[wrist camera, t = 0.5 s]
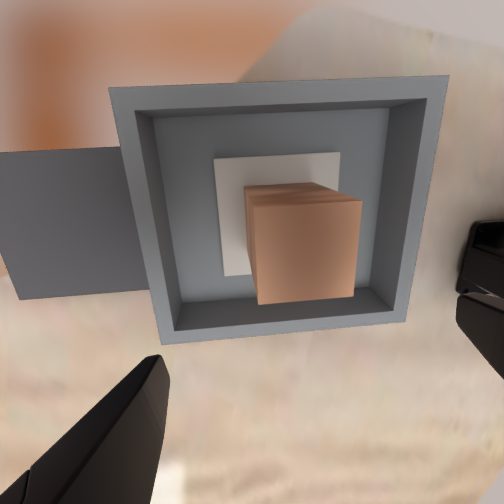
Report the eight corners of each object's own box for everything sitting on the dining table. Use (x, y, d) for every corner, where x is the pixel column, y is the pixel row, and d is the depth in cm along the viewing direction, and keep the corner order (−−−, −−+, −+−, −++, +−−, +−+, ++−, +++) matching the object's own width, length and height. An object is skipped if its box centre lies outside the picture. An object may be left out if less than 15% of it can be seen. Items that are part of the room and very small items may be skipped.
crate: (402, 90, 18) (449, 74, 14) (376, 293, 23) (405, 321, 19) (135, 101, 17) (108, 87, 13) (172, 312, 22) (161, 345, 18)
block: (312, 182, 18) (362, 200, 11) (310, 246, 19) (353, 296, 13) (243, 186, 17) (253, 207, 11) (247, 251, 19) (258, 304, 12)
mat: (134, 146, 17) (131, 145, 17) (161, 284, 21) (159, 288, 20) (-31, 154, 17) (-40, 154, 16) (25, 296, 20) (19, 300, 20)
